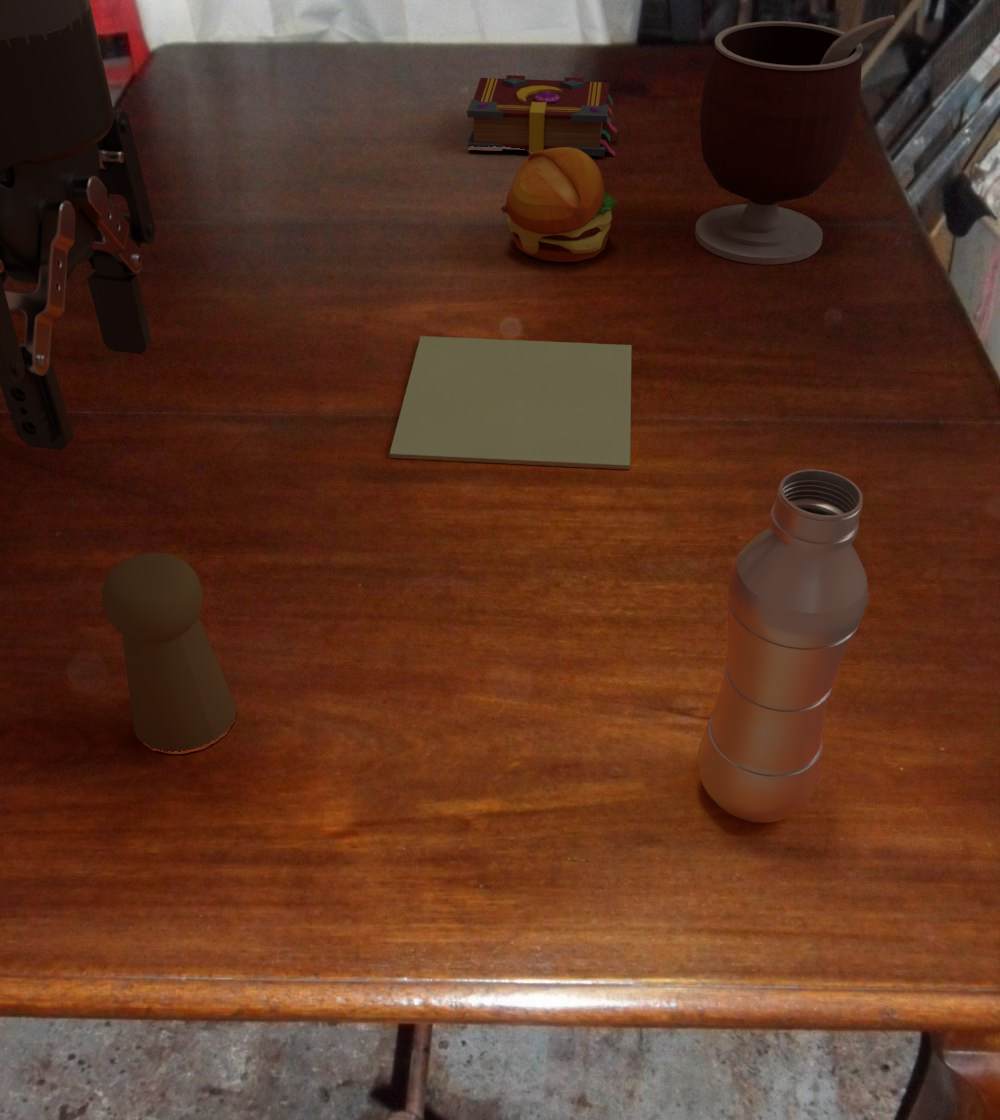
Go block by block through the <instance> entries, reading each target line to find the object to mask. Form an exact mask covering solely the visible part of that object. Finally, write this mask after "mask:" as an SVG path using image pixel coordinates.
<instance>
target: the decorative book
mask: <svg viewBox="0 0 1000 1120" xmlns="http://www.w3.org/2000/svg"><path fill="white" fill-rule="evenodd" d="M609 90H610V82H608V81H607V82H603V81H584V78H583V77H572V76H571V77H569V76H568V77H567V76H566V77H564V80H553V79H552V80H551V79H550V80H548V79H526V75H515V74H513V75H512V74H507V75H506V77H505V78H500V77H499V78H498V77H480V78H479V81H478V84H477V87H476V89H475V93H474V95H473V98H471V100H470V101H469V105H468V108H467V110H466V111H467V112H466V114H467V119H473V121H472V122H473V131H471V133H470V135H469V136H470V137H469V140H468V143H467V148H468V147H470V146H474V147H478V146H479V147H488V146H489V147H493V146H496V147H503V146H505V147H511V148H520V149H525V150H529V151H530V152H537V151H541V150H546V149H551V148H559V147H570V148H575V149H579V150H581V151H582V152H584V153H586V154H587V155H588V156H589V157H591V156H592V157H605V156H606V155H605V154H606V149H607V151H608V152H609V153H610V154H611V155H612V156H613V157H616V153H617V152H616V151H615V150H614V149H613V148H611V147H610V145H609V144H608V142H607V139H608V141H609V142H611V135H610V134H609V132H608V131H607V125H608V126H609V128H610V129H611V130H612V131H613V132H614V133H617V132H618V128H617V127H616V126H615V125H613V124H612V118H610V117H609V116H608V114H609V113H610V114H611V115H613V109H612V108H611V107H610V106H609V102H610V105H611V106H613V104H614V103H613V99H612V97H611V95H610V94H609ZM529 151H528V152H529Z"/></svg>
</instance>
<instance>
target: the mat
mask: <svg viewBox="0 0 1000 1120" xmlns="http://www.w3.org/2000/svg"><path fill="white" fill-rule="evenodd" d="M632 348H633V346H632V344H614V343H592V342H588V343H587V342H568V341H545V340H544V341H543V340H525V339H524V340H521V339H496V338H477V337H476V338H475V337H451V336H429V335H420V337H419V340H418V343H417V348H416V351H415V355H414V360H413V363H412V366H411V371H410V374H409V377H408V383H407V386H406V389H405V392H404V397H403V401H402V403H401V404H402V405H401V408H400V412H399V416H398V420H397V423H396V428H395V431H394V435H393V439H392V442H391V446H390V450H389V458H390V459H404V460H425V461H444V462H445V461H447V462H466V463H468V462H469V463H488V464H504V465H505V464H508V465H509V464H510V465H528V466H547V467H548V466H550V467H568V468H569V467H570V468H586V469H587V468H589V469H591V468H592V469H606V470H607V469H608V470H609V469H610V470H629V471H630V469H631V432H632V431H631V429H632V427H631V426H632V425H631V424H632V421H631V419H632V352H633V351H632Z"/></svg>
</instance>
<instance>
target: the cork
mask: <svg viewBox="0 0 1000 1120" xmlns="http://www.w3.org/2000/svg"><path fill="white" fill-rule="evenodd" d="M203 602H204V594H203V589H202V585H201V581H200V578H199V576H198V575H197V573H196V571H195V570H194V569H193V567H191V565H190V564H189V563H187V562H186V561H185V560H183V559H181V558H180V557H178V556H176V555H174V554H171V553H164V552H147V553H142V554H137V555H134V556H131V557H129V558H126V559H124V560H122V561H121V562H119V563H118V564H117V565H115V566H114V567H113V568H112V569H111V570H110V571H109V572H108V573H107V575H106V578H105V580H104V584H103V585H102V588H101V603H102V608H103V611H104V614H105V617H106V618H107V620H108V621H109V622H110V624H111V625H112V627H113V628H114V629H115V631H116V633H117V632H118V633H119V634H121V638H122V645H123V652H124V654H123V655H124V661H125V669H126V679H127V685H128V693H129V700H130V708H131V709H130V711H131V717H132V725H133V731H134V734H135V733H136V735H137V736H138V737H139V739H140V740H141V742H143V743H145V744H147V745H149V746H150V747H151V748H153V749H155V748H156V749H157V750H158V749H159V750H160V751H161V750H163V751H164V752H165V751H166V752H168V751H171V752H174V751H178V752H181V750H182V751H186V750H191V749H195V748H198V747H202V746H203V745H204V744H209V743H210V742H211V741H212V740H214V741H215V740H216V738H219V736H220V735H222V734H223V733H225V732H227V730H228V728H229V727H231V725H232V723H233V722H234V720H235V715H236V711H237V712H238V710H236V709H237V705H236V701H235V699H234V697H233V694H232V692H231V689H230V687H229V685H228V682H227V680H226V678H225V674H224V672H223V671H222V668H221V665H220V663H219V660H218V658H217V657H216V654H215V651H214V650H213V647H212V645H211V642H210V639H209V637H208V635H207V633H206V630H205V629H204V625H203V623H202V621H201V619H200V615H201V611H202V608H203ZM235 705H236V706H235ZM236 716H237V715H236ZM235 721H236V720H235ZM136 735H135V736H136ZM139 739H138V740H139ZM141 742H140V743H141Z"/></svg>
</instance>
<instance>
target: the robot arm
mask: <svg viewBox="0 0 1000 1120" xmlns="http://www.w3.org/2000/svg"><path fill="white" fill-rule="evenodd" d="M110 195H117V196H118V195H119V196H121V197H122V198H124V199H125V201H126V205H127V208H128V209H127V210H128V212H129V214H128V213H121V211H120V210H119V209H118V207H117V206H116V205H115V203H113V201H112V200H111V197H110ZM155 235H156V226H155V221H154V218H153V213H152V209H151V205H150V201H149V196H148V192H147V188H146V184H145V179H144V175H143V171H142V167H141V163H140V159H139V155H138V150H137V147H136V142H135V138H134V134H133V130H132V126H131V121H130V117H129V115H128V114H127V112H126V111H125V110H117V109H114V106H113V101H112V96H111V91H110V88H109V83H108V78H107V73H106V68H105V64H104V59H103V55H102V50H101V46H100V41H99V36H98V32H97V28H96V24H95V19H94V14H93V9H92V4H91V0H0V390H1V392H2V395H3V399H4V401H5V404H6V407H7V410H8V413H9V416H10V419H11V421H12V425H13V428H14V431H15V434H16V435H17V437H18V438H19V439H20V441H21V442H23V443H24V444H26V445H27V446H28V447H31V448H32V447H33V448H40V449H48V450H56V451H63V450H65V449H66V447H68V445H69V444H70V443H71V442H72V440H73V439H74V431H73V428H72V424H71V420H70V418H69V414H68V411H67V408H66V404H65V401H64V398H63V394H62V390H61V387H60V384H59V381H58V377H57V374H56V370H55V367H54V366H51V365H50V362H51V349H52V348H51V347H52V331H53V330H52V329H53V323H54V322H55V321H56V320H58V319H60V318H62V316H63V315H64V313H65V304H66V287H67V281H69V279H70V278H71V276H72V274H73V272H74V271H75V269H76V268H77V266H78V265H79V264H82V265H83V266H84V267H85V268H86V269H87V270H92V272H90V274H89V275H88V276H87V277H86V280H87V283H88V287H89V290H90V295H91V299H92V303H93V307H94V310H95V315H96V319H97V322H98V325H99V330H100V333H101V337H102V341H103V344H104V346H105V347H106V348H108V349H109V350H110V351H112V352H120V353H127V354H128V353H129V354H137V355H140V354H144V352H146V350H147V349H148V348H149V347H150V346H151V345H152V335H151V332H150V325H149V322H148V318H147V314H146V309H145V305H144V301H143V300H144V299H143V296H142V291H141V286H140V284H139V283H140V282H139V279H138V274H139V273H140V272H141V271H142V268H143V261H144V260H143V254H142V250H141V246H142V244H148V245H149V244H152V243H153V241H154V239H155ZM3 272H4V273H5V274H6V275H7V276H8V277H9V278H11V279H12V280H14V281H16V282H18V283H23V284H33V285H37V286H36V288H35V289H34V290H32V291H31V292H20V291H12V290H11V291H10V290H5V288H4V284H3V281H2V273H3ZM14 315H17V316H24V317H25V327H24V341H23V342H24V343H23V342H22V343H21V342H19V339H18V336H17V331H16V328H15V325H14V321H13V317H12V316H14Z"/></svg>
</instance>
